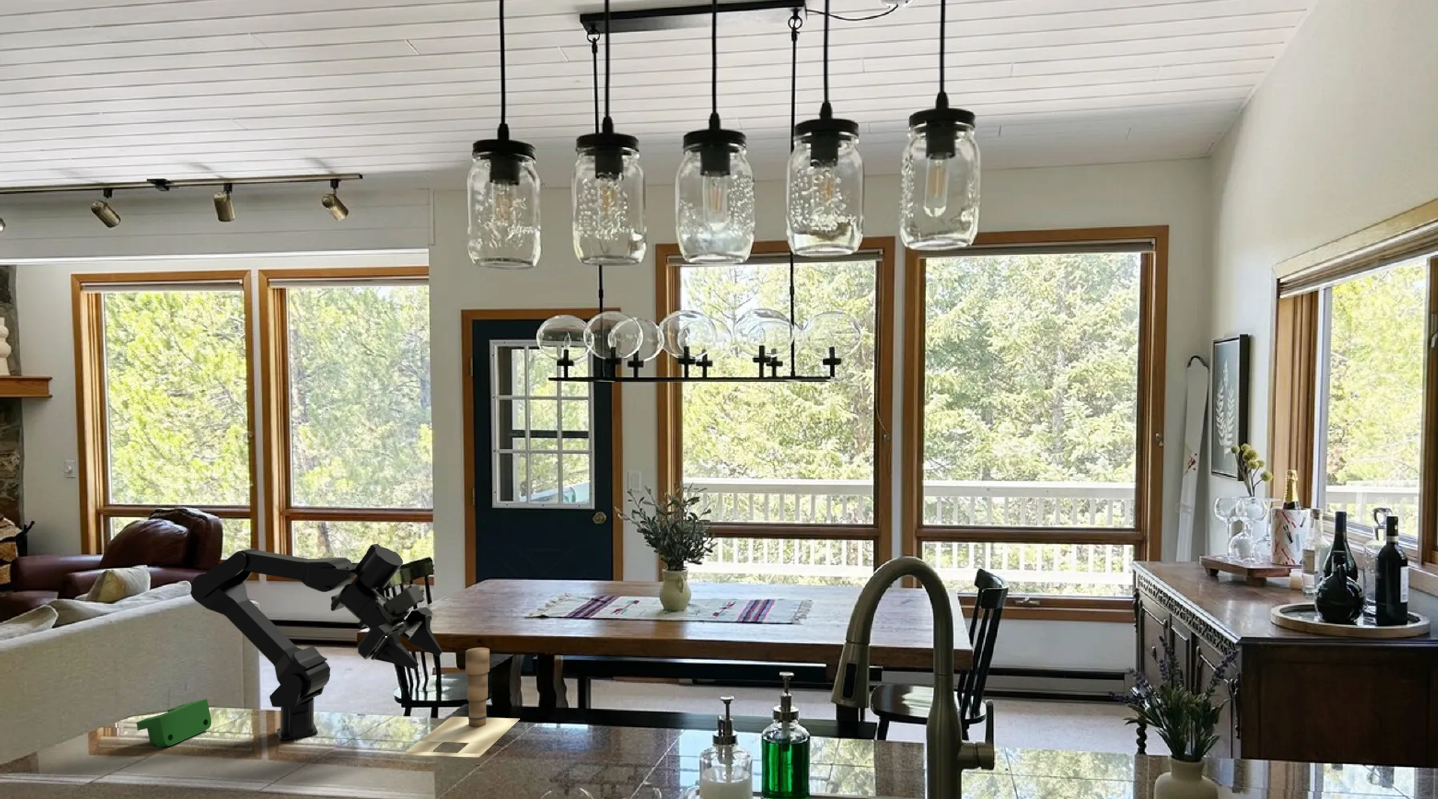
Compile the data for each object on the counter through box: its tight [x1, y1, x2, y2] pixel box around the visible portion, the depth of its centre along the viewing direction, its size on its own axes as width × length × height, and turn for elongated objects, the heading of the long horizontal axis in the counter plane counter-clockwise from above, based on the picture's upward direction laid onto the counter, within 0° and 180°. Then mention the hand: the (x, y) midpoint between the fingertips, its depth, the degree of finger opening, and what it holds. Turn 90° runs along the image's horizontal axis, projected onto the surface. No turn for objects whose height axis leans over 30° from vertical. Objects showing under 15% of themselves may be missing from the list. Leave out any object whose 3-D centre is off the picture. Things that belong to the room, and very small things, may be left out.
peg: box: [465, 647, 490, 727], centre depth 162 cm, size 4×4×14 cm
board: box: [401, 716, 521, 767], centre depth 156 cm, size 14×20×2 cm
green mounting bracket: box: [136, 698, 212, 749], centre depth 161 cm, size 12×6×9 cm
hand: (429, 660), depth 159 cm, fingers open, 9 cm apart
